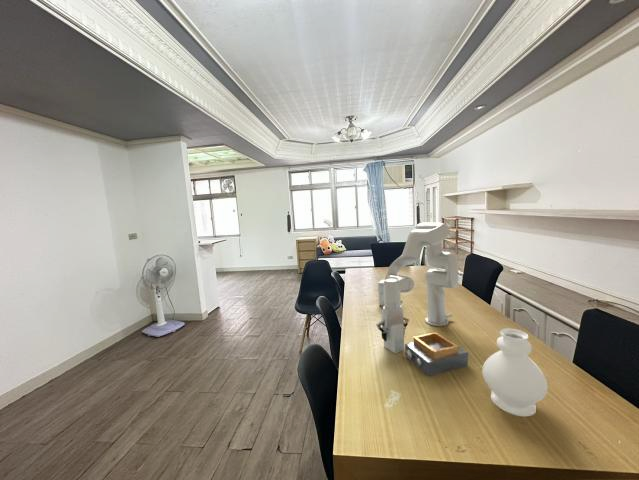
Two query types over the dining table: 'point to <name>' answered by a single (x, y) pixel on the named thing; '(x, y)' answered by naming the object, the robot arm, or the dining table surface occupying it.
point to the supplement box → (381, 292)
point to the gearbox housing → (435, 354)
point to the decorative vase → (514, 375)
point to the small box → (395, 338)
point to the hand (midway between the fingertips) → (393, 338)
